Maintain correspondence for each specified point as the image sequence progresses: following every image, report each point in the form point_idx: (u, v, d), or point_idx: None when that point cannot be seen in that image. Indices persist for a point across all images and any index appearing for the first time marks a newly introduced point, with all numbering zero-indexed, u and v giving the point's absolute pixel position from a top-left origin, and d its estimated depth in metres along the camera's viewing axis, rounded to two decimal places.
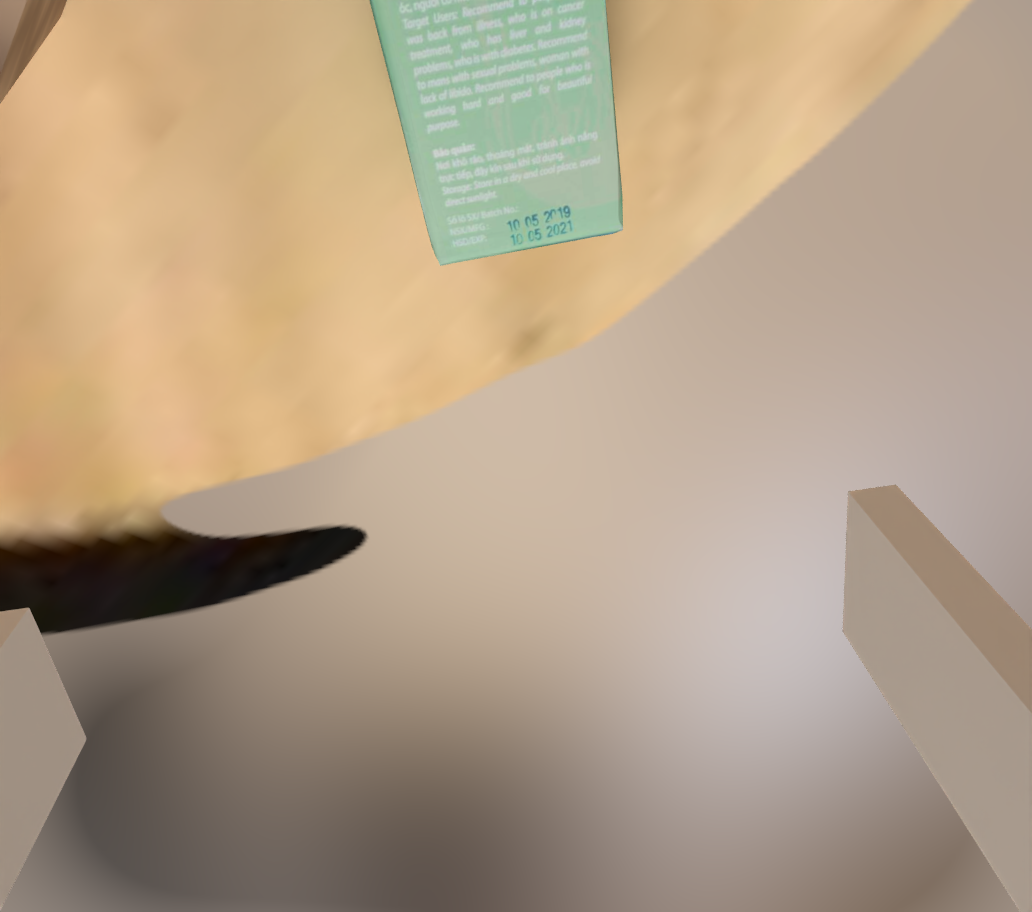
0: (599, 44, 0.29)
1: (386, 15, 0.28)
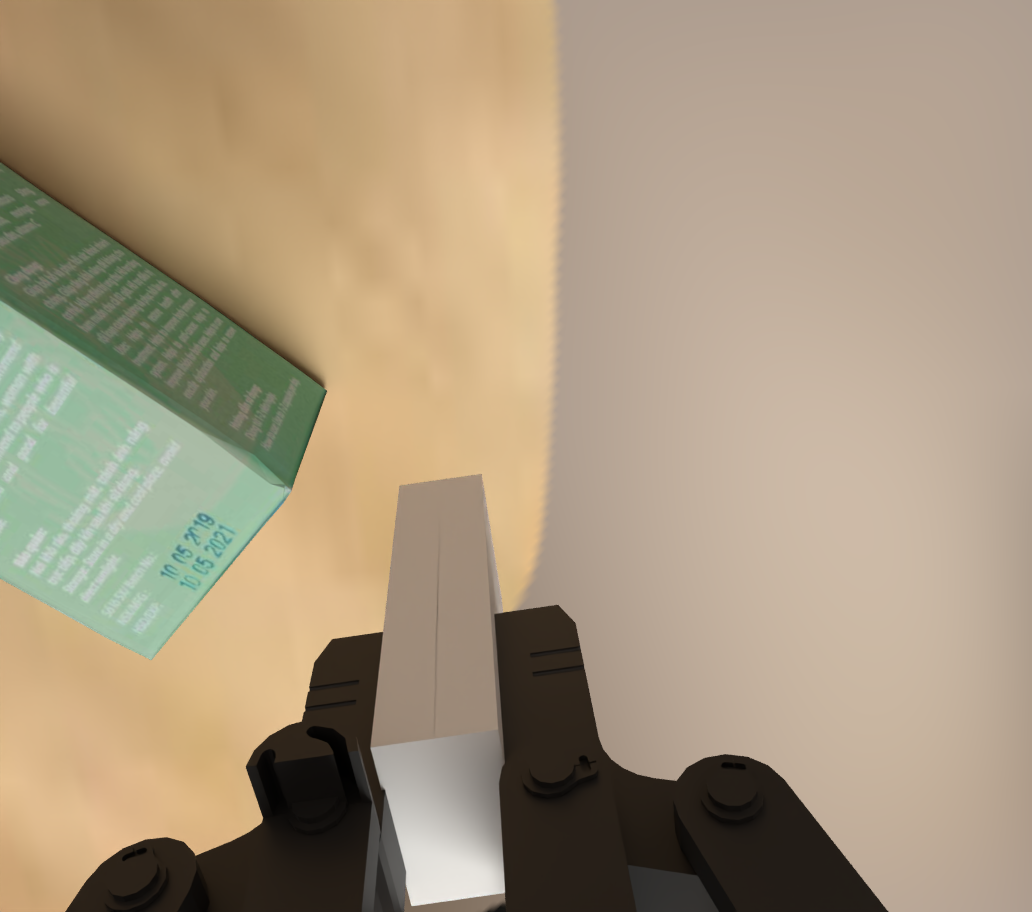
0: (39, 340, 0.22)
1: None
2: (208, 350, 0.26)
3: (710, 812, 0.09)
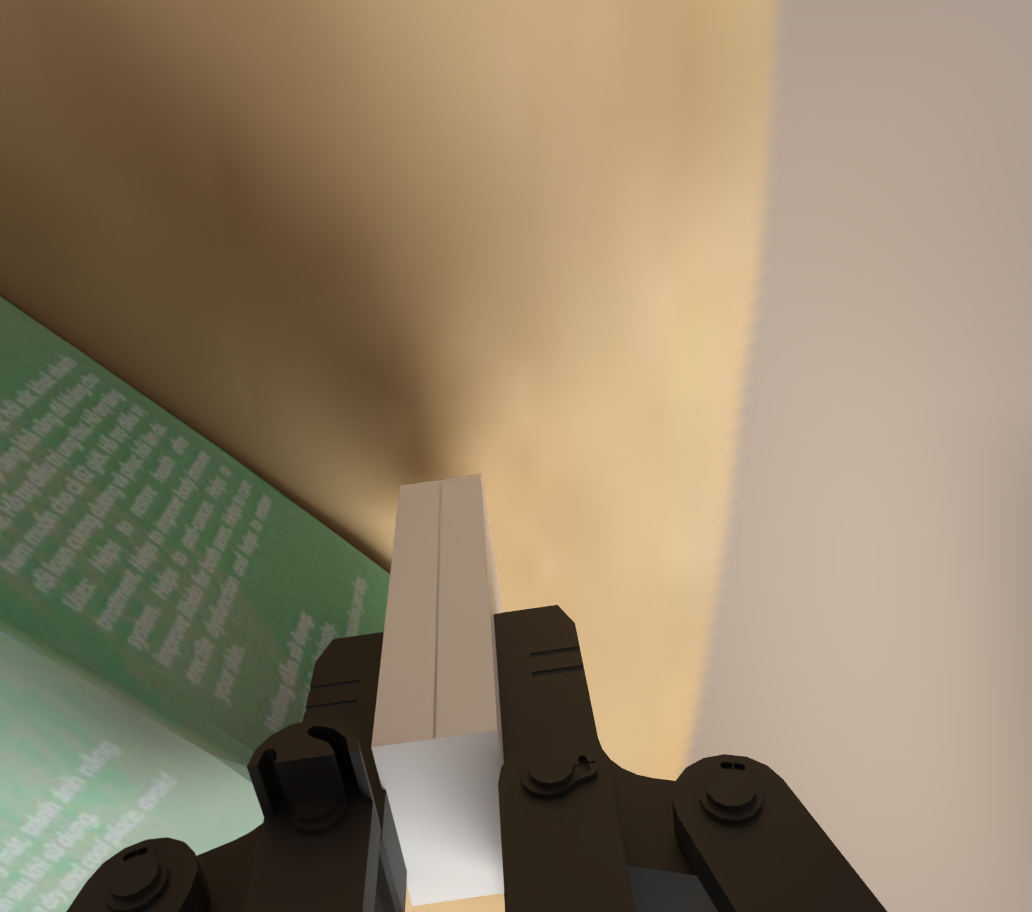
0: None
1: None
2: (229, 558, 0.16)
3: (709, 812, 0.09)
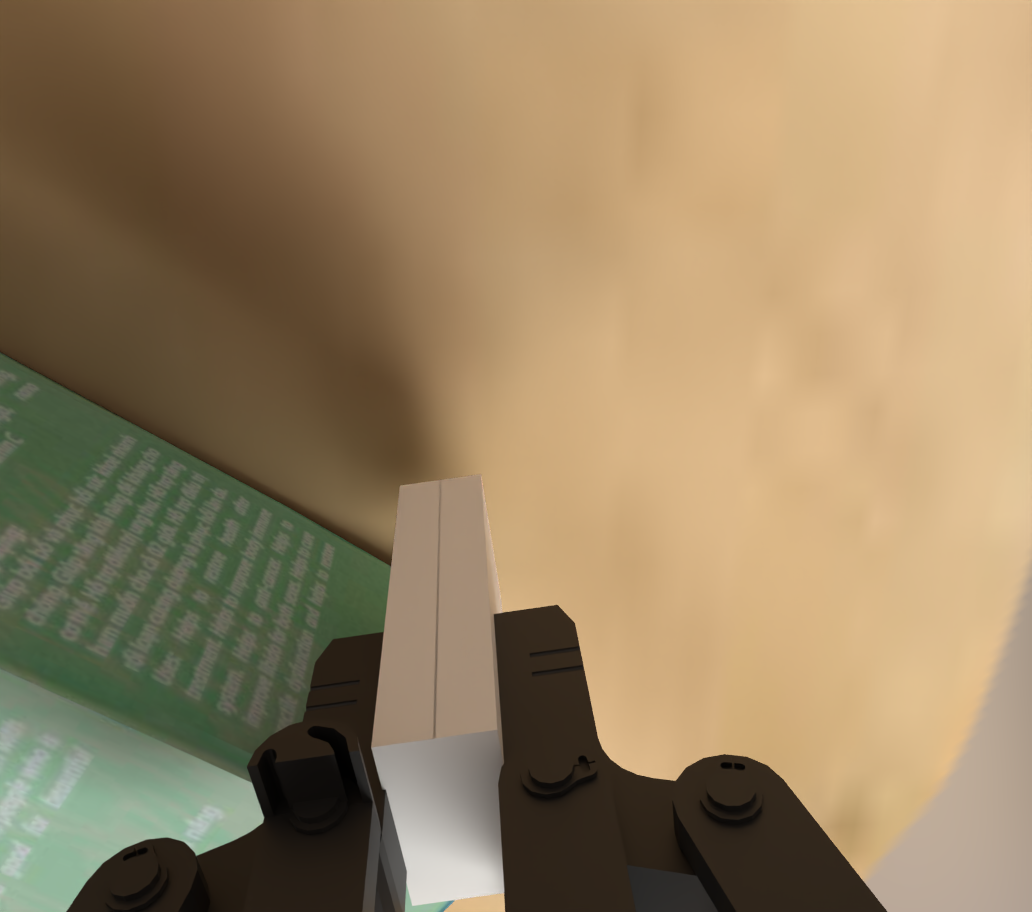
0: (21, 699, 0.12)
1: None
2: (301, 612, 0.16)
3: (709, 812, 0.09)
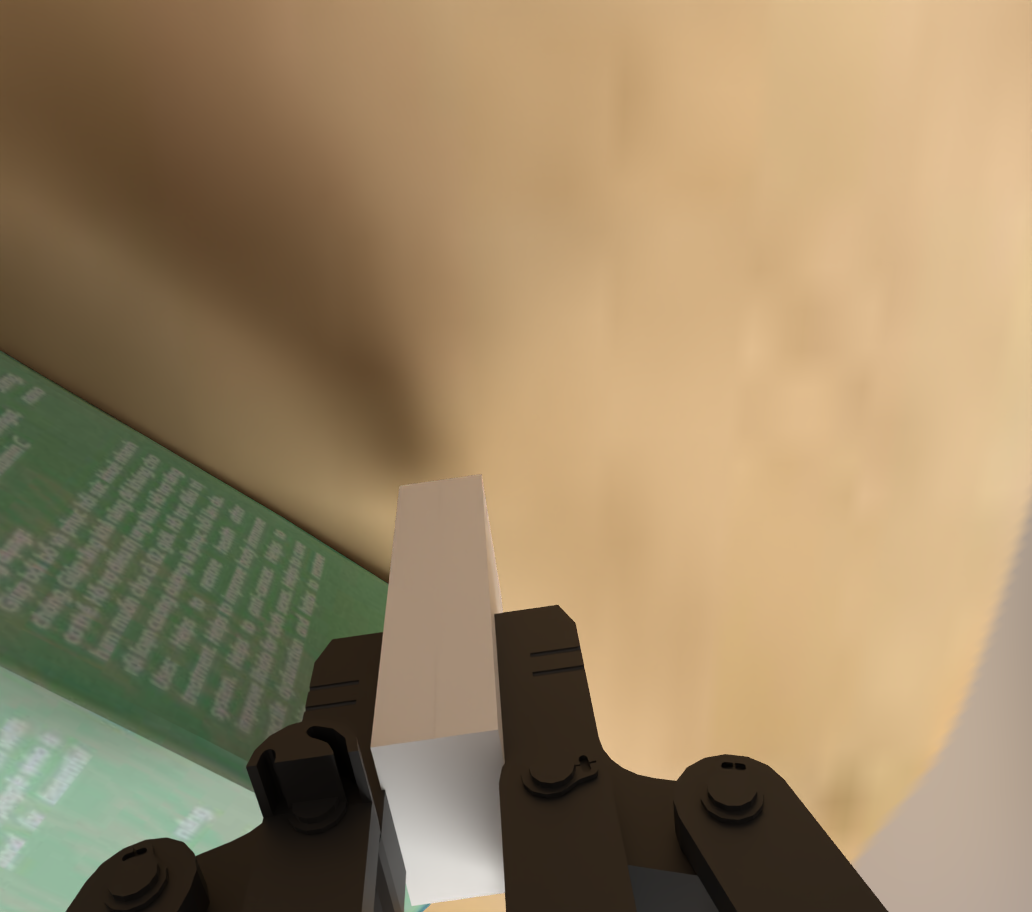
0: (24, 700, 0.12)
1: None
2: (292, 621, 0.17)
3: (710, 812, 0.09)
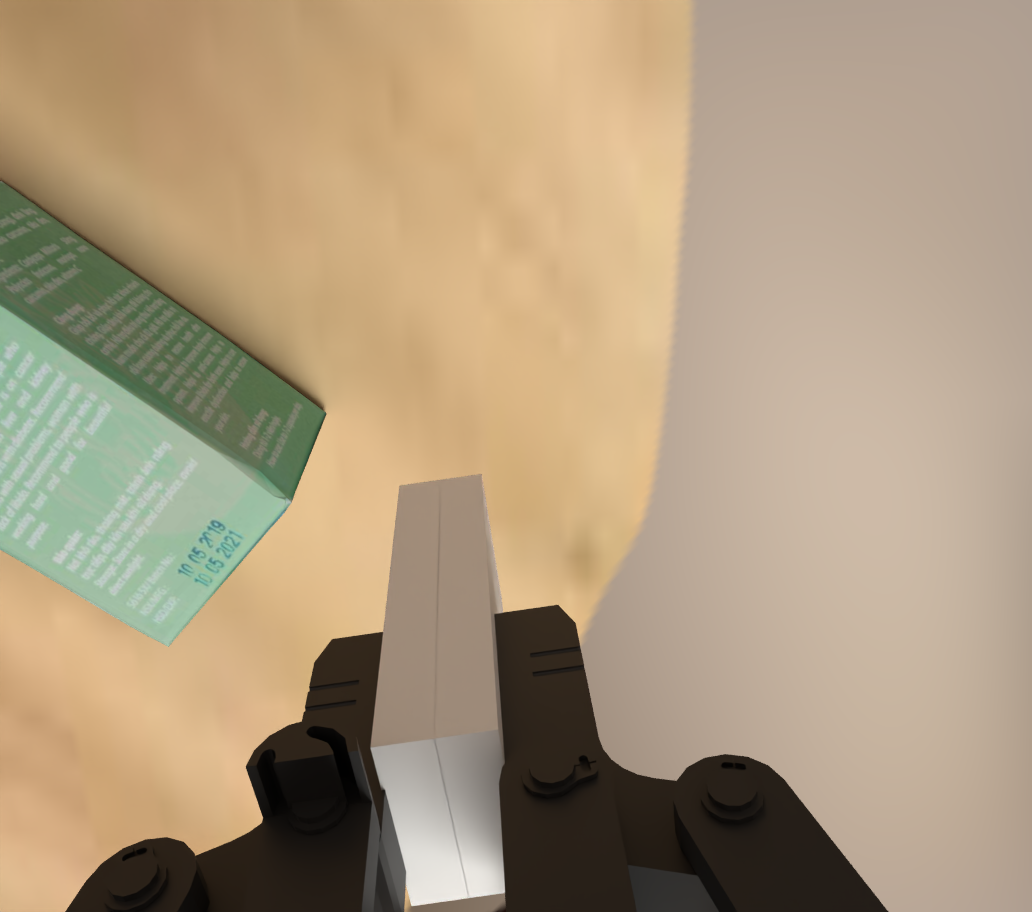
0: (81, 373, 0.26)
1: None
2: (222, 379, 0.30)
3: (710, 812, 0.09)
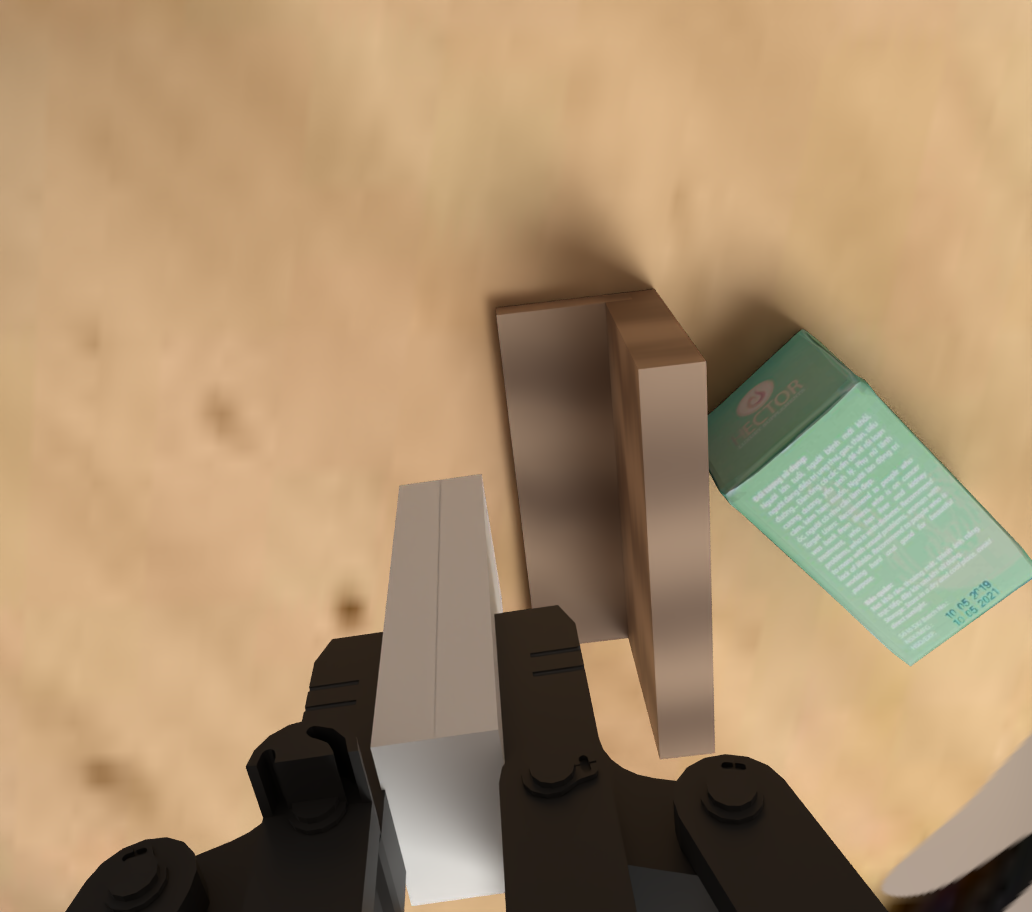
0: (944, 479, 0.38)
1: (791, 548, 0.39)
2: None
3: (710, 812, 0.09)
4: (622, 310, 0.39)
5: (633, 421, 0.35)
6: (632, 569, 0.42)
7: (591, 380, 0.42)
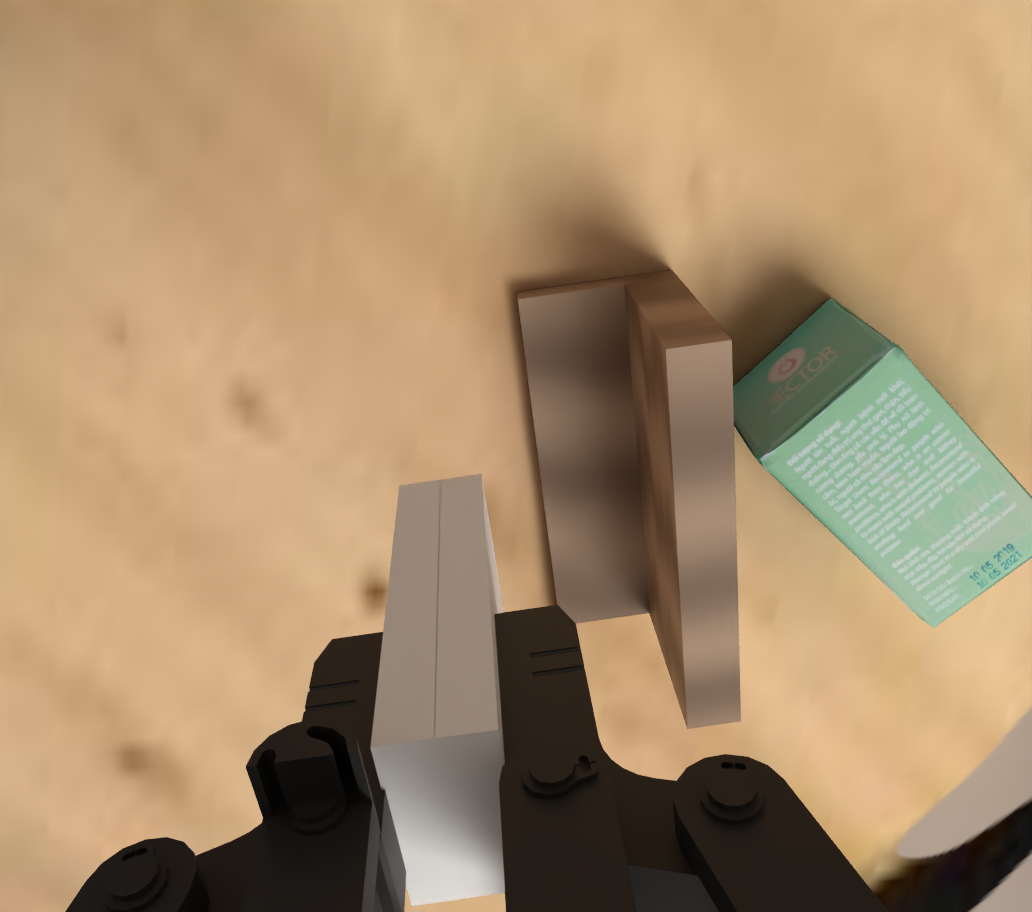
0: (973, 444, 0.39)
1: (822, 512, 0.40)
2: None
3: (710, 812, 0.09)
4: (642, 291, 0.40)
5: (658, 400, 0.36)
6: (655, 545, 0.43)
7: (611, 361, 0.42)
